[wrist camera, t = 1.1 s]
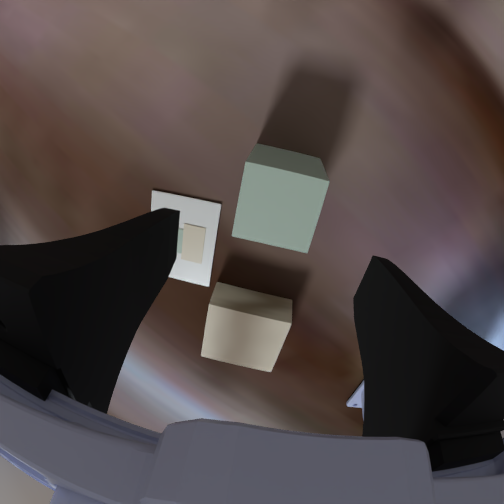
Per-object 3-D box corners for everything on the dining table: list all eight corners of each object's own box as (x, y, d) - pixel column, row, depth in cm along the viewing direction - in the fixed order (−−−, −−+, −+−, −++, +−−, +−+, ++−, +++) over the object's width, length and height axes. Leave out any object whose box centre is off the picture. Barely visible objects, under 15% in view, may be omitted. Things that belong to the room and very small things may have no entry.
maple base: (292, 297, 24) (291, 323, 21) (273, 346, 27) (270, 372, 24) (217, 279, 24) (209, 304, 21) (208, 331, 27) (201, 355, 24)
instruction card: (221, 203, 20) (220, 204, 20) (209, 286, 24) (208, 287, 24) (152, 189, 20) (151, 190, 20) (150, 271, 24) (149, 272, 24)
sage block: (319, 158, 18) (329, 181, 14) (304, 215, 20) (307, 253, 16) (256, 143, 18) (245, 161, 14) (245, 201, 20) (231, 236, 16)
